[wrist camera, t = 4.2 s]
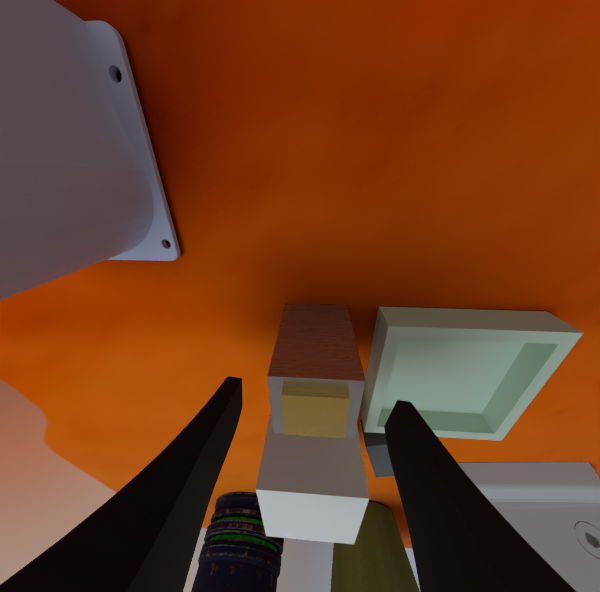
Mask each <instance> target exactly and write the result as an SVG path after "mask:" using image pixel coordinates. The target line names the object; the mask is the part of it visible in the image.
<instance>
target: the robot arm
mask: <svg viewBox="0 0 600 592" xmlns="http://www.w3.org/2000/svg"><path fill="white" fill-rule="evenodd" d="M118 70H120V72H121V74H122V79H121V82H118V80H117V75H116V73H117V71H118ZM166 240H168V241H169V242H170V244H171V247H170V246H168V245H167V244H166ZM180 255H181V253H180V248H179V244H178V241H177V237H176V233H175V230H174V226H173V222H172V218H171V215H170V211H169V207H168V204H167V200H166V196H165V193H164V189H163V185H162V182H161V178H160V174H159V170H158V167H157V163H156V159H155V156H154V152H153V148H152V145H151V141H150V137H149V134H148V130H147V126H146V122H145V119H144V115H143V111H142V108H141V104H140V100H139V97H138V93H137V89H136V86H135V82H134V78H133V74H132V71H131V67H130V63H129V60H128V56H127V52H126V49H125V45H124V42H123V39H122V37H121V35H120V34H119V32H118V31H117V30H116V29H115V28H113V27H112V26H111V25H109V24H108V23H107V22H105V21H101V20H98V21H84V20H82V19H81V18H79V17H78V16H76V15H75V14H73V13H72V12H70V11H69V10H67V9H66V8H64V7H63V6H61V5H60V4H58V3H57V2H55V1H54V0H0V301H1V300H4V299H6V298H9V297H11V296H14V295H16V294H19V293H22V292H24V291H27V290H29V289H32V288H34V287H37V286H39V285H42V284H45V283H47V282H50V281H52V280H55V279H57V278H60V277H63V276H65V275H68V274H70V273H73V272H75V271H78V270H80V269H83V268H86V267H88V266H91V265H93V264H96V263H98V262H101V261H104V260H146V261H174V260H176V259H178V258H179V257H180ZM241 410H242V378H236V377H227V378H226V379H225V381H224V382H223V383H222V385H221V386H220V387H219V389H218V390H217V391H216V392H215V394H214V395H213V396H212V397H211V399H210V400H209V401H208V402H207V403H206V405H205V406H204V407H203V408H202V409H201V410H200V412H199V413H198V414H197V415H196V416H195V417H194V418H193V420H192V421H191V422H190V423H189V424H188V425H187V426H186V427H185V428H184V429H183V430H182V431H181V433H180V434H179V435H178V436H177V437H176V438H175V439H174V440H173V441H172V442H171V443H170V444H169V445H168V446H167V447H166V448H165V449H164V450H163V451H162V452H161V453H160V454H159V455H158V456H157V457H156V458H155V459H154V460H153V461H152V462H151V463H150V464H149V465H147V466H146V467H145V468H144V469H143V470H142V471H141V472H140V473H139V474H138V475H137V476H135V477H134V478H133V479H132V480H131V481H130V482H129V483H128V484H127V485H125V486H124V487H123V488H122V489H121V490H120V491H119V492H118V493H116V494H115V495H114V496H113V497H112V498H111V499H109V500H108V501H107V502H106V503H105V504H103V505H102V506H101V507H100V508H99V509H97V510H96V511H95V512H94V513H92V514H91V515H90V516H89V517H87V518H86V519H85V520H84V521H83V522H82V523H80V524H79V525H78V526H77V527H75V528H74V529H73V530H72V531H70V532H69V533H68V534H67V535H65V536H64V537H63V538H62V539H60V540H59V541H58V542H56V543H55V544H54V545H53V546H51V547H50V548H49V549H47V550H46V551H45V552H43V553H42V554H41V555H40V556H38V557H37V558H35V559H34V560H33V561H31V562H30V563H29V564H27V565H26V566H25V567H23V568H22V569H21V570H20V571H18V572H17V573H16V574H14V575H13V576H12V577H10V578H9V579H8V580H6V581H5V582H4V583H2V584H1V585H0V592H183V589H184V586H185V582H186V578H187V575H188V571H189V568H190V564H191V561H192V558H193V554H194V551H195V547H196V544H197V540H198V537H199V533H200V530H201V527H202V524H203V520H204V517H205V514H206V510H207V507H208V504H209V501H210V498H211V495H212V492H213V489H214V486H215V484H216V481H217V479H218V476H219V473H220V471H221V468H222V465H223V463H224V460H225V458H226V455H227V452H228V450H229V447H230V444H231V442H232V439H233V436H234V434H235V431H236V428H237V424H238V421H239V417H240V413H241ZM384 429H385V436H386V442H387V448H388V453H389V457H390V461H391V464H392V468H393V472H394V475H395V479H396V483H397V486H398V490H399V494H400V497H401V501H402V504H403V508H404V512H405V515H406V519H407V524H408V528H409V532H410V537H411V542H412V547H413V552H414V557H415V562H416V568H417V573H418V579H419V585H420V590H421V592H577V591H575V590H574V589H573V588H572V587H571V586H570V585H569V584H568V583H567V582H566V581H565V580H564V579H563V578H562V577H561V576H560V575H559V574H558V573H557V572H556V571H555V570H554V569H553V568H552V567H551V566H550V565H549V564H548V563H547V562H546V561H545V560H544V559H543V558H542V557H541V556H540V555H539V554H538V553H537V552H536V551H535V550H534V549H533V548H532V547H531V546H530V545H529V544H528V543H527V541H526V540H525V539H524V538H523V537H522V536H521V535H520V534H519V533H518V532H517V531H516V530H515V529H514V528H513V527H512V526H511V525H510V523H509V522H508V521H507V520H506V519H505V518H504V517H503V516H502V515H501V514H500V512H499V511H498V510H497V509H496V508H495V507H494V506H493V505H492V504H491V503H490V501H489V500H488V499H487V498H486V497H485V496H484V495H483V493H482V492H481V491H480V490H479V489H478V488H477V486H476V485H475V484H474V483H473V482H472V480H471V479H470V478H469V477H468V476H467V474H466V473H465V472H464V471H463V470H462V468H461V467H460V466H459V465H458V463H457V462H456V461H455V460H454V458H453V457H452V456H451V454H450V453H449V452H448V451H447V449H446V448H445V447H444V445H443V444H442V443H441V442H440V440H439V439H438V438H437V436H436V435H435V434H434V432H433V431H432V430H431V428H430V427H429V426H428V424H427V423H426V422H425V420H424V419H423V418H422V416H421V415H420V413H419V412H418V411H417V409H416V408H415V407H414V405H413V404H412V403H411V402H409V401H402V400H397V402H396V404H395V406H394V408H393V410H392V412H391V414H390V416H389V418H388V420H387V422H386V424H385V426H384Z"/></svg>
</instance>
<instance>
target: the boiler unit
mask: <svg viewBox="0 0 600 592" xmlns="http://www.w3.org/2000/svg"><path fill="white" fill-rule="evenodd" d="M256 493H257V497H258V502H259V506H260V511H261V515H262V520H263V525H264V529H265V534H266V536H270V537H280V538H291V539H301V540H312V541H323V542H333V543H344V544H354V543H355V540H356V537H357V534H358V531H359V528H360V525H361V522H362V519H363V516H364V513H365V510H366V507H367V504H368V501H369V494H368V488H367V482H366V476H365V470H364V464H363V458H362V451H361V445H360V439H359V433H358V427H357V426H356V431H355V436H354V438H351V437H344V438H329V437H314V436H299V435H284V433H274V432H273V423H272V414H270V419H269V424H268V429H267V434H266V439H265V445H264V450H263V455H262V460H261V465H260V470H259V475H258V481H257V486H256Z"/></svg>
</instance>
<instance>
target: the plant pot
mask: <svg viewBox="0 0 600 592" xmlns="http://www.w3.org/2000/svg"><path fill="white" fill-rule="evenodd" d="M331 592H420V591H419V589H418V586H417V583H416V580H415V577H414V574H413V571H412V568H411V565H410V562H409V560H408V557H407V554H406V551H405V548H404V545H403V542H402V539H401V536H400V533H399V530H398V528H397V525H396V522H395V519H394V516H393V514H392V512H391V510H390V509H389V508H387V507H385V506H383V505H381V504H379V503H376V502H368V504H367V507H366V510H365V513H364V516H363V519H362V522H361V525H360V528H359V531H358V534H357V537H356V540H355V543H354V544H344V543H334V548H333V564H332V579H331Z"/></svg>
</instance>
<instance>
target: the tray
mask: <svg viewBox="0 0 600 592" xmlns="http://www.w3.org/2000/svg"><path fill="white" fill-rule="evenodd" d="M582 334H583V332H581V331H579V330H578V329H576V328H574V327H573V326H571V325H569V324H567V323H566V322H564V321H562V320H561V319H559V318H557V317H555V316H554V315H552V314H550V313H549V312H547V311H515V310H481V309H447V308H413V307H379V310H378V315H377V320H376V325H375V330H374V335H373V341H372V346H371V351H370V356H369V361H368V366H367V371H366V377H365V385H364V390H363V396H362V401H361V406H360V412H361V417H362V422H363V428H364V432H370V433H385V429H384V426H385V424H386V422H387V420H388V418H389V416H390V414H391V412H392V410H393V408H394V406H395V404H396V402H397V400H402V401H409V402H411V403H412V404H413V405H414V407H415V408H416V409H417V411H418V412H419V413H420V415H421V416H422V418H423V419H424V420H425V422H426V423H427V424H428V426H429V427H430V428H431V430H432V431H433V432H434V434H435V435H436V436H437V437H449V438H465V439H481V440H497V441H502V439H503V438H504V437H505V435H506V434H507V433H508V431H509V430H510V429H511V427H512V426H513V425H514V424H515V422H516V421H517V420H518V418H519V417H520V416H521V414H522V413H523V412H524V410H525V409H526V408H527V406H528V405H529V404H530V403H531V401H532V400H533V399H534V397H535V396H536V395H537V393H538V392H539V391H540V389H541V388H542V387H543V386H544V384H545V383H546V382H547V380H548V379H549V378H550V376H551V375H552V374H553V372H554V371H555V370H556V368H557V367H558V366H559V365H560V363H561V362H562V361H563V359H564V358H565V357H566V355H567V354H568V353H569V351H570V350H571V349H572V347H573V346H574V345H575V344H576V342H577V341H578V340H579V338H580V337H581V336H582Z"/></svg>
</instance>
